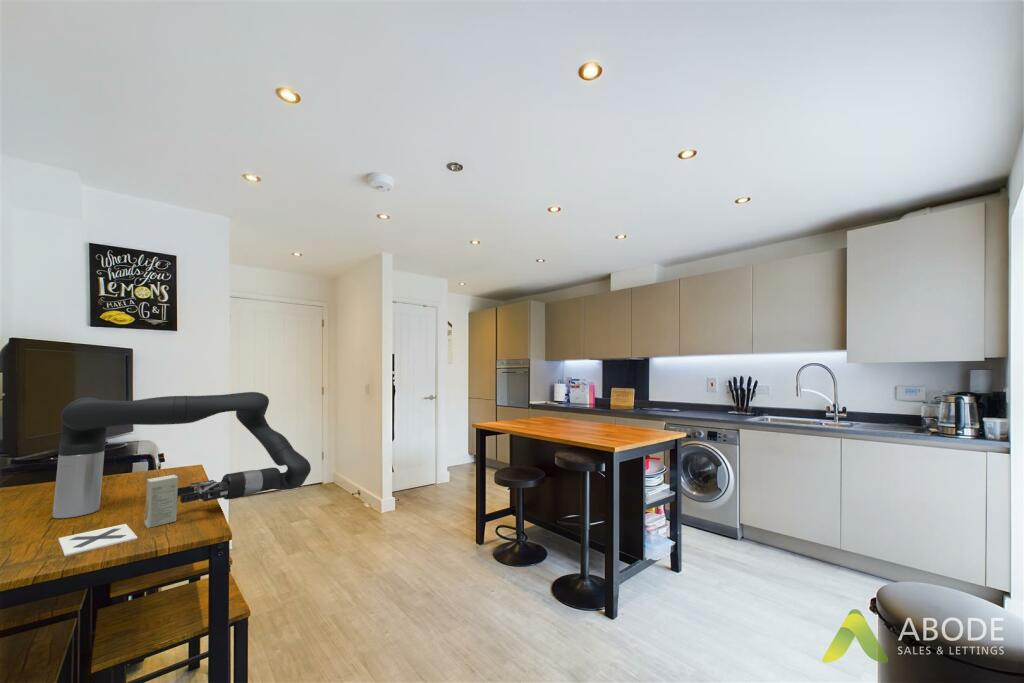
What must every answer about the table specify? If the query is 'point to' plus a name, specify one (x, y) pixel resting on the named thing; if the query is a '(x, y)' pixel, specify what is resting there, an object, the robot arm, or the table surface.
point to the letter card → (96, 539)
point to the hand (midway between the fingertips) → (176, 496)
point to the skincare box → (161, 500)
